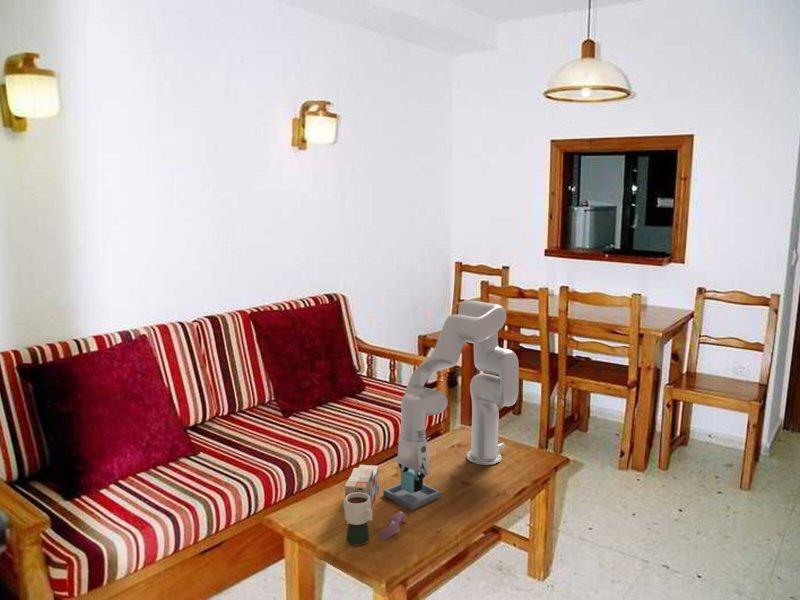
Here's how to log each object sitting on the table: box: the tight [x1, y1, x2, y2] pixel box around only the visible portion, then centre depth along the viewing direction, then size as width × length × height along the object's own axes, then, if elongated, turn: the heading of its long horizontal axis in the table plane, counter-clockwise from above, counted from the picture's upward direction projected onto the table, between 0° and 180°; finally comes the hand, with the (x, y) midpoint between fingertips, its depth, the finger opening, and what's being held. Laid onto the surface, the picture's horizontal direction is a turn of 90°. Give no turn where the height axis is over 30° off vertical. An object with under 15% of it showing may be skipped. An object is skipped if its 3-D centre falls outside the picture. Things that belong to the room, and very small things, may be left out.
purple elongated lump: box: [377, 510, 407, 540], centre depth 186 cm, size 10×5×7 cm, turn 160°
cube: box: [400, 469, 423, 494], centre depth 207 cm, size 5×5×5 cm
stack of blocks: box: [344, 464, 380, 524], centre depth 200 cm, size 21×6×12 cm, turn 171°
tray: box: [382, 482, 442, 512], centre depth 208 cm, size 13×13×2 cm
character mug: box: [342, 492, 373, 546], centre depth 181 cm, size 11×7×13 cm, turn 49°
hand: (412, 486), depth 207 cm, fingers closed on cube, 4 cm apart
